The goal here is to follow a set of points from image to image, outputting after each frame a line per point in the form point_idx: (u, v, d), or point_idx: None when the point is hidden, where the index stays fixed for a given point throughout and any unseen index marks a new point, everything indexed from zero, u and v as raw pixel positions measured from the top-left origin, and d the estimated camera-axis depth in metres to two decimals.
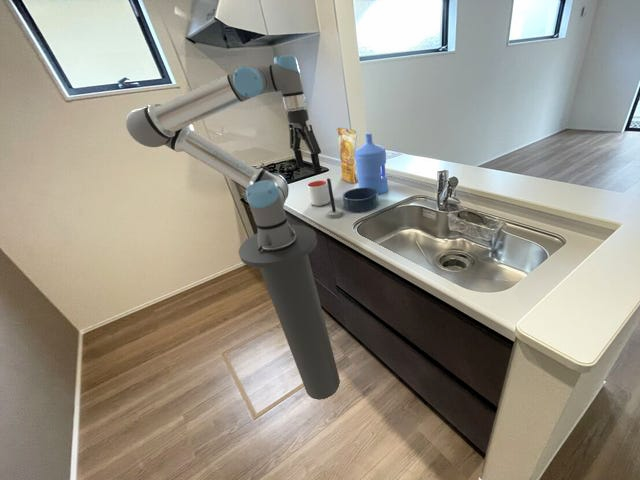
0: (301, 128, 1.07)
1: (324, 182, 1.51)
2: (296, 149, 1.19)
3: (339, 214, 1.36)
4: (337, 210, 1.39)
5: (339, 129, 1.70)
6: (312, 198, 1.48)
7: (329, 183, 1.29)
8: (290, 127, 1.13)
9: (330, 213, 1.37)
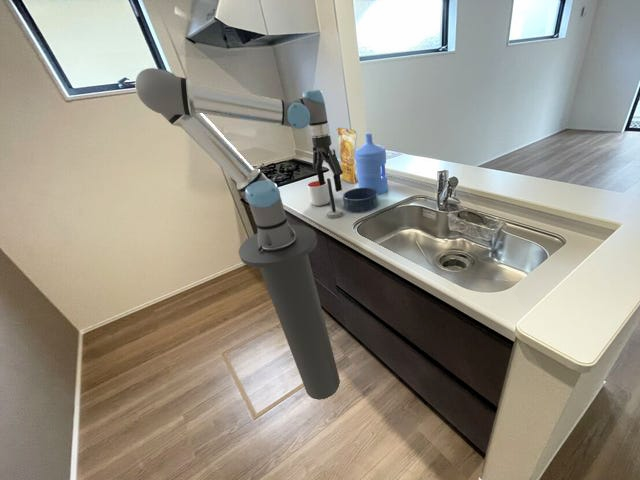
0: (325, 152, 1.20)
1: None
2: (318, 169, 1.32)
3: (339, 214, 1.36)
4: (337, 210, 1.39)
5: (339, 129, 1.70)
6: (312, 198, 1.48)
7: (329, 183, 1.29)
8: (314, 150, 1.26)
9: (330, 213, 1.37)
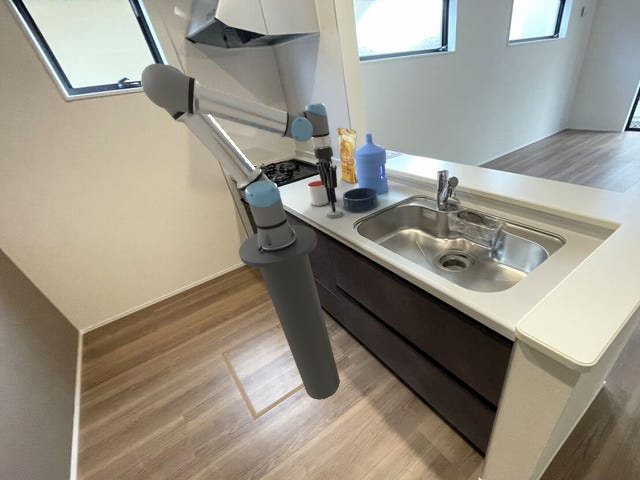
0: (327, 163, 1.22)
1: None
2: (327, 186, 1.32)
3: (339, 214, 1.36)
4: (337, 210, 1.39)
5: (339, 129, 1.70)
6: (312, 198, 1.48)
7: None
8: (317, 164, 1.29)
9: (330, 213, 1.37)
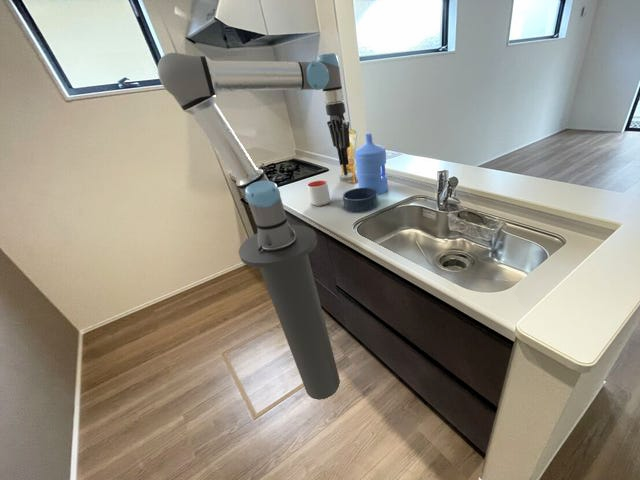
0: (339, 120, 1.17)
1: (324, 182, 1.51)
2: (339, 147, 1.27)
3: (351, 178, 1.32)
4: (349, 174, 1.34)
5: None
6: (312, 198, 1.48)
7: None
8: (329, 123, 1.24)
9: (342, 176, 1.32)
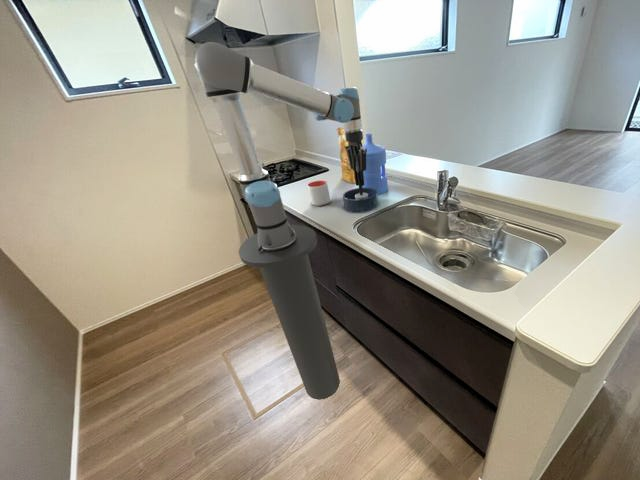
0: (357, 146, 1.27)
1: (324, 182, 1.51)
2: (356, 169, 1.37)
3: (366, 197, 1.41)
4: (364, 193, 1.43)
5: (339, 129, 1.70)
6: (312, 198, 1.48)
7: None
8: (347, 148, 1.33)
9: (357, 196, 1.41)
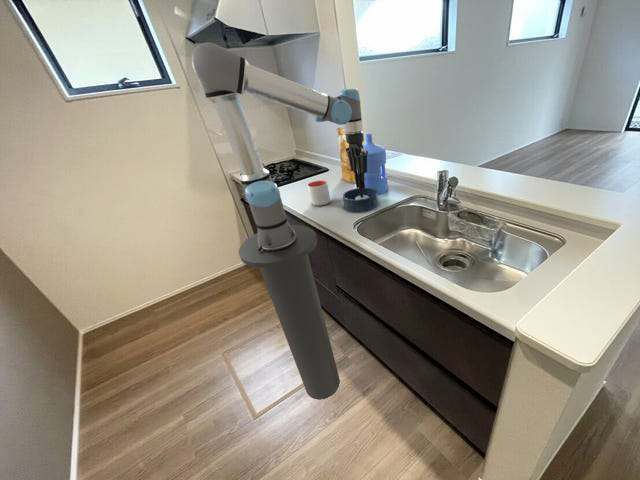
0: (358, 148, 1.25)
1: (324, 182, 1.51)
2: (356, 172, 1.35)
3: None
4: (364, 196, 1.42)
5: (339, 129, 1.70)
6: (312, 198, 1.48)
7: None
8: (347, 150, 1.31)
9: (358, 199, 1.40)
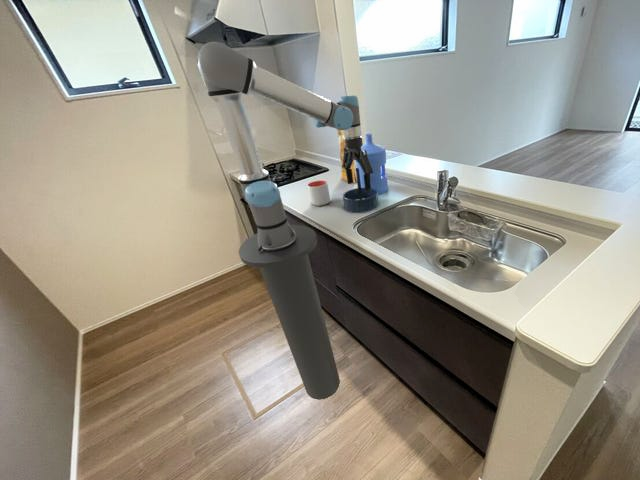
0: (357, 152, 1.28)
1: (324, 182, 1.51)
2: (348, 168, 1.40)
3: None
4: None
5: None
6: (312, 198, 1.48)
7: (358, 172, 1.35)
8: (345, 150, 1.34)
9: None
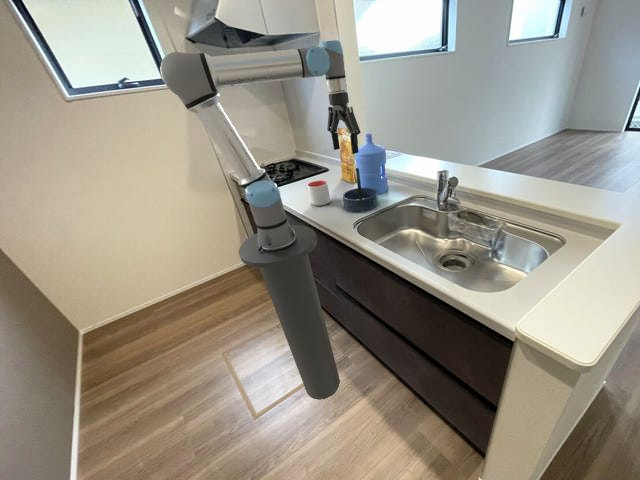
0: (342, 110, 1.14)
1: (324, 182, 1.51)
2: (333, 131, 1.26)
3: None
4: None
5: (339, 129, 1.70)
6: (312, 198, 1.48)
7: (358, 172, 1.35)
8: (330, 110, 1.20)
9: None
